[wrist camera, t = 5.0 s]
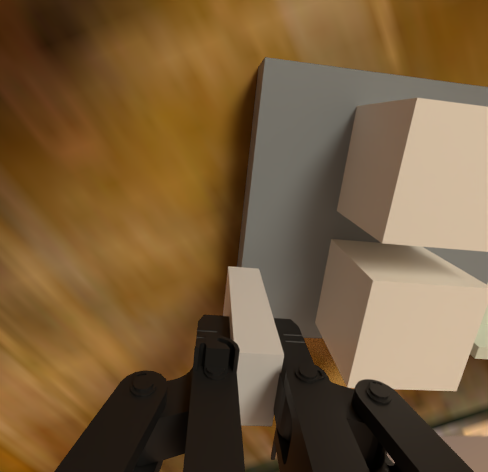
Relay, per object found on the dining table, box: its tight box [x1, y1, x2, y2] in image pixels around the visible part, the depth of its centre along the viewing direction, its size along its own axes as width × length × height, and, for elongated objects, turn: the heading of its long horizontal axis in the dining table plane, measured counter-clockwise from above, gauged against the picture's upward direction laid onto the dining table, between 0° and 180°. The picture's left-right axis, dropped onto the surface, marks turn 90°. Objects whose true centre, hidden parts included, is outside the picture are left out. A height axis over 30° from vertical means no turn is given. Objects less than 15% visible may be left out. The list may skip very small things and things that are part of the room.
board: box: [237, 57, 488, 338], centre depth 19 cm, size 14×14×2 cm
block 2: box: [315, 239, 488, 391], centre depth 16 cm, size 5×5×5 cm
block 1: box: [337, 98, 488, 252], centre depth 14 cm, size 5×5×5 cm
